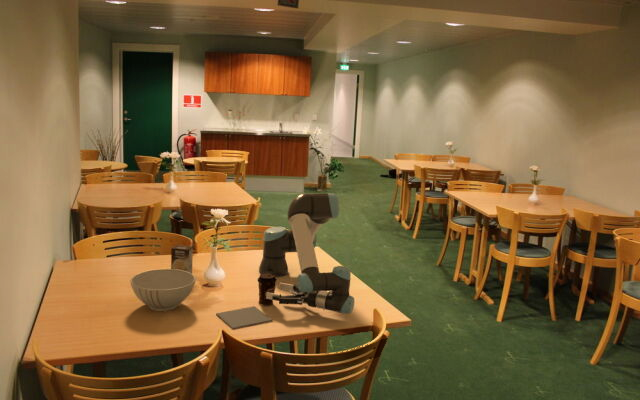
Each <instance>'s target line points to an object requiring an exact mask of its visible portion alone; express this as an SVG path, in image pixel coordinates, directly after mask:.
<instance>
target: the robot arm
mask: <svg viewBox="0 0 640 400" xmlns="http://www.w3.org/2000/svg"><path fill="white" fill-rule="evenodd" d="M339 215H340V202H339V198H338V196H337V194H336V193H330V192H324V193H320V192H319V193H315V192H313V193H310V192H309V193H308V192H304V193H301V194H298V195H296V196H295V197H294V198H293V199H292V201H291V202H290V204H289V207H288V208H287V222H288V224H289V225H290V226H291V229H287V228H286V227H284V226H273V227H272V226H271V227H269V228H267V229H265V230H264V231H263V237H262V238H263V242H262V243H263V246H262V258H261V261H260V265H259V267H258V272H259V274H260V275H261V274H264V273H270V274H274V275H275V277H283V276H286V275H288V274H289V267H288V263H287V260H286V253H296V254H297V259H298V263H299V268H300V269H299V270H300V273H299V274H298V276H297V283H296V284H290V283H286V282H285V283H283V282H279V286H278V288H279V290H284V291H289V292H290V291H293V289H294V292H297V293H298V294H295V295H293V294H287V295H282V294H278V293H276V292H275V293H269V292H267V293H266V299H271V300H273V301H276V302H278V304H279V305H280V304H281V305H299V306H302V305H303V303H306V304H307V306H308V307H310V308H317V309H320V310H323V311H325V310H326V311H330V312H336V313H340V314H346V315H348V314H349V315H350V314H351V313H352V312H353V311H354V309H355V298H354V296H352V295H350V286H351V269H350V268H349V267H347V266H343V265H337V266H334V267H333V268H332V270H331V271H332V272H330V271H328V272H320V267H319V264H318V259H317V256H316V251H315V248H316V245H317V234H316V233H317V232H318V230H319V229H320V228H321V226H322V225H324V224H326V223H328V222H329V220H331V219H333V220H335V219H337V218H338V217H339ZM330 290H332V291H331V292H327V291H330Z"/></svg>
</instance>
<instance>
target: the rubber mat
mask: <svg viewBox="0 0 640 400" xmlns="http://www.w3.org/2000/svg"><path fill="white" fill-rule="evenodd" d="M215 316H217V317H218V318H219V319H220V320H221V321H223V322H224V323H225V324H226V325H227V326H228V327H229V328H231V330H236V329H241V328H244V327H250V326H256V325H259V324H260V325H261V324H265V323H269V321H270V322H273V319H272V318H271V317H270V316H268V315H267V314H265V312H264V311H261V310H260V309H259V308H258V307H256V306H248V307H247V306H246V307H244V308H239V309H233V310H227V311H222V312H216V313H215ZM264 322H265V323H264Z"/></svg>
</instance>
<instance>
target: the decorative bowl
mask: <svg viewBox="0 0 640 400" xmlns="http://www.w3.org/2000/svg"><path fill="white" fill-rule="evenodd" d="M196 281H197V278H196V276H195V275H194V274H193V273H192V274H191V273H189V272H186V271H183V270H177V269H171V268H157V269H149V270H145V271H142V272H139V273H136V274H135V275H133V276H132V277H130V280H129V282H130V286H131V289H132V291H133V293H134V295H135V296H136V297H137V299H138V300H139V301H140V302H142V304H145V305H146V306H148V308H149V309H150V310H152V311H156V312H168V311H171V310H174V309H176V308H178V306H179V305H180V304H182V302H184V301H185V300H186V299H188V297H189V296H190V295H191V292H192V291H193V289H194V287H195V284H196Z"/></svg>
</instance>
